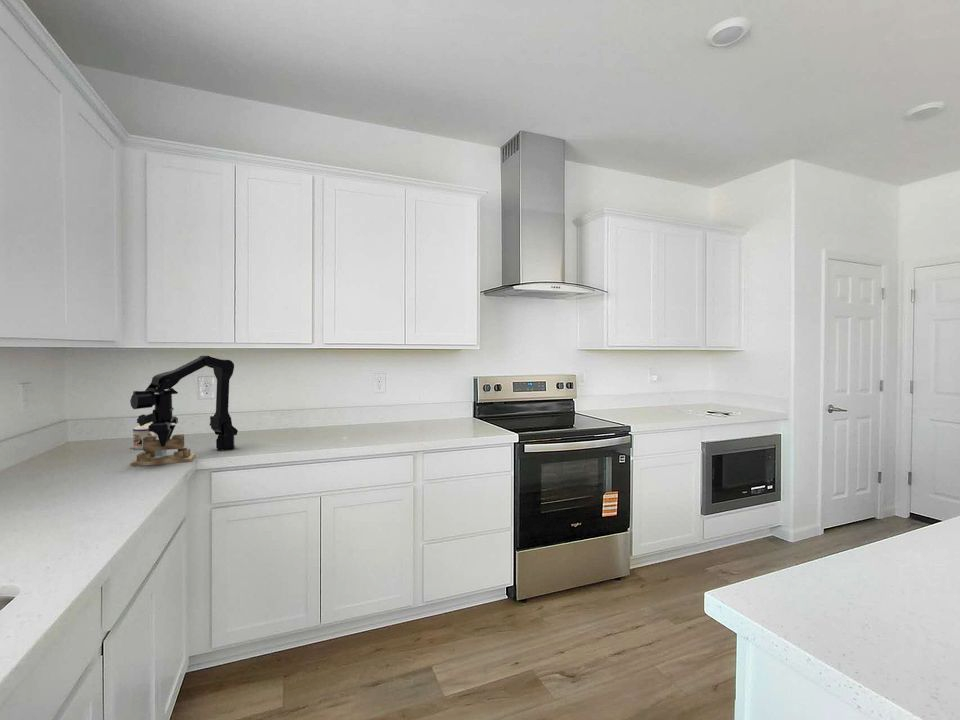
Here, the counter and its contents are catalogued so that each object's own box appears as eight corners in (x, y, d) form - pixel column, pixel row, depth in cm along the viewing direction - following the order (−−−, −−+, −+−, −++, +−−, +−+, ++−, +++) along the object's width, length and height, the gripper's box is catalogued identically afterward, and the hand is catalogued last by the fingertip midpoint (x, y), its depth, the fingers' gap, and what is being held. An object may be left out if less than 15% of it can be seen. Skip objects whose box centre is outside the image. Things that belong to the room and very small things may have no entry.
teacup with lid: (128, 448, 207) (128, 422, 207) (151, 444, 215) (150, 419, 215) (142, 451, 201) (142, 424, 201) (165, 447, 209) (164, 421, 209)
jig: (195, 456, 193) (195, 446, 193) (191, 461, 184) (191, 451, 184) (137, 460, 185) (137, 450, 185) (130, 466, 177) (130, 455, 177)
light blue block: (166, 453, 198) (166, 444, 198) (162, 457, 191) (161, 448, 191) (155, 454, 197) (155, 445, 196) (150, 458, 190) (150, 448, 190)
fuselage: (184, 446, 189) (184, 434, 189) (182, 448, 185) (181, 436, 185) (146, 449, 184) (145, 436, 184) (143, 451, 180) (142, 438, 180)
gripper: (145, 404, 190) (146, 441, 190) (131, 410, 172) (132, 452, 173) (177, 402, 194) (178, 439, 195) (166, 408, 177) (167, 449, 177)
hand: (164, 445), depth 185 cm, fingers closed on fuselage, 4 cm apart
